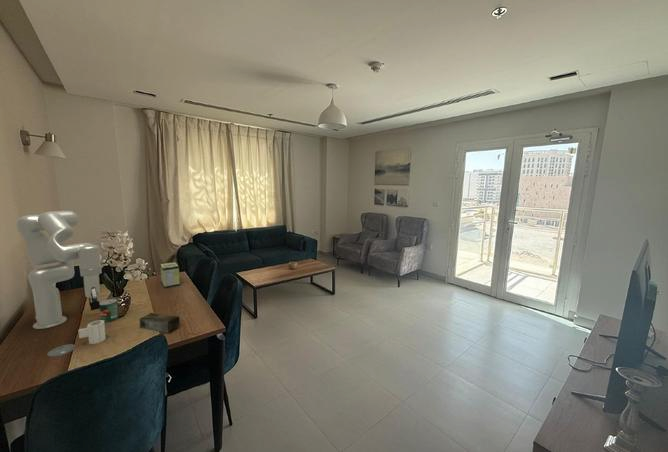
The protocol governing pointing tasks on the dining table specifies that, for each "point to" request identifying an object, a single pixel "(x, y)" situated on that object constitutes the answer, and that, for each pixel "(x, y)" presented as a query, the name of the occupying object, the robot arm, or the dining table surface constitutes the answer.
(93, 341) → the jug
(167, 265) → the protein box
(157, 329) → the beverage carton
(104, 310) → the canned tomato
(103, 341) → the post
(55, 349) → the coaster
